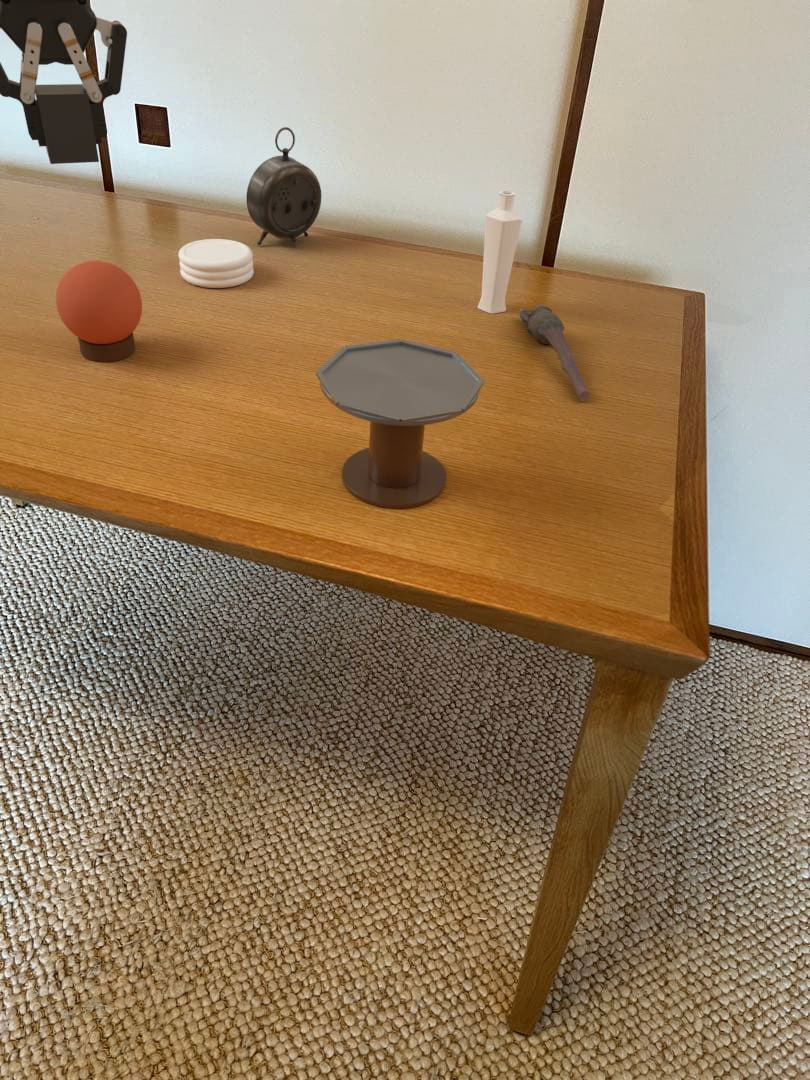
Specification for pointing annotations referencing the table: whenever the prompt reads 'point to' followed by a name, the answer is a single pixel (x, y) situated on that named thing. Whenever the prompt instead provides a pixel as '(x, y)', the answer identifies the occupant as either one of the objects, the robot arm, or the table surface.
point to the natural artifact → (555, 343)
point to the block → (67, 123)
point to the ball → (100, 309)
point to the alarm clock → (283, 196)
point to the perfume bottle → (499, 252)
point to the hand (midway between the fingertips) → (69, 142)
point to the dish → (397, 414)
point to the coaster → (216, 263)
